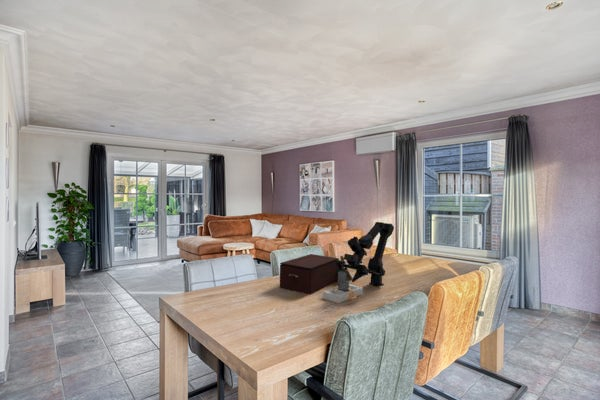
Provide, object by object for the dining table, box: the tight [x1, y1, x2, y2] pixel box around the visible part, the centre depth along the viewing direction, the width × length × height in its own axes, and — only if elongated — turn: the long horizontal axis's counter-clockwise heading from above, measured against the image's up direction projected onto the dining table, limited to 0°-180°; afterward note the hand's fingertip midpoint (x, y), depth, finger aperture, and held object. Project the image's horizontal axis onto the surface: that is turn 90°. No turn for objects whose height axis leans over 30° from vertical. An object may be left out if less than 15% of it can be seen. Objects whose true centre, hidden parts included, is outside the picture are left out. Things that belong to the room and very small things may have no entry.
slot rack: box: [322, 283, 364, 304], centre depth 174 cm, size 22×12×4 cm, turn 135°
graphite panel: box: [337, 271, 350, 292], centre depth 174 cm, size 3×5×13 cm, turn 45°
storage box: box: [279, 253, 340, 295], centre depth 196 cm, size 39×23×15 cm, turn 147°
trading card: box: [313, 305, 353, 324], centre depth 149 cm, size 11×1×18 cm
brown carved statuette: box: [336, 255, 353, 283], centre depth 204 cm, size 12×6×18 cm, turn 133°
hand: (345, 280), depth 175 cm, fingers open, 9 cm apart
